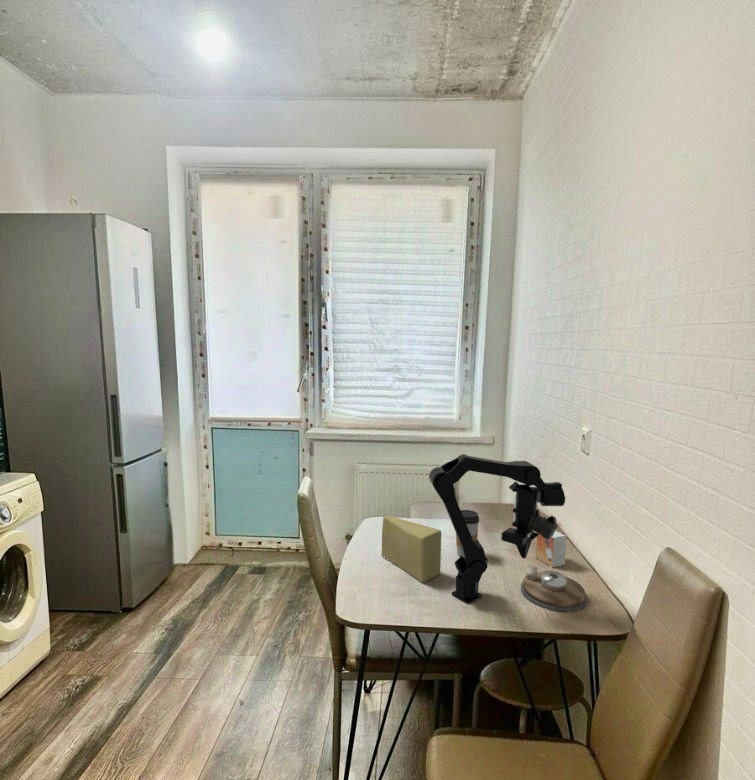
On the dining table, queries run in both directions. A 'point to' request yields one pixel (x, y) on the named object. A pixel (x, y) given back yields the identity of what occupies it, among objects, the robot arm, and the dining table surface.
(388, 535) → the cheese
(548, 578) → the cast cover
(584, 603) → the turntable base
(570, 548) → the dining table surface
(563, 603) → the lazy susan
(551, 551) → the small box
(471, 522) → the coffee cup
